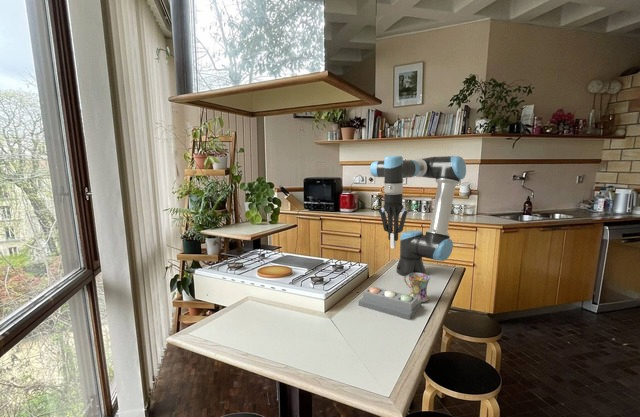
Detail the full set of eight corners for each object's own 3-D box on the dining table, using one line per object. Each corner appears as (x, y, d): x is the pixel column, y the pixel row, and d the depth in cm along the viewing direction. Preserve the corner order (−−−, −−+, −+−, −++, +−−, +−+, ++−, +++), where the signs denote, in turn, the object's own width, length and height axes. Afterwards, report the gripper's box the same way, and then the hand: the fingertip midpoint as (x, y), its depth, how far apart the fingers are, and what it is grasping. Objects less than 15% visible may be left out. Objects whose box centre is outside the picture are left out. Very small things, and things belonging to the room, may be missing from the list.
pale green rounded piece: (402, 301, 128) (402, 293, 127) (413, 304, 125) (413, 296, 125) (398, 305, 124) (398, 297, 124) (409, 308, 122) (409, 299, 121)
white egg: (387, 297, 132) (387, 289, 132) (396, 300, 129) (396, 292, 129) (382, 301, 128) (382, 293, 128) (392, 303, 126) (392, 295, 125)
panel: (373, 294, 141) (373, 283, 141) (421, 306, 129) (421, 294, 128) (358, 305, 130) (358, 294, 129) (409, 319, 117) (409, 307, 117)
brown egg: (372, 293, 136) (372, 286, 136) (381, 296, 134) (381, 288, 133) (367, 297, 133) (367, 289, 132) (377, 299, 130) (377, 291, 130)
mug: (433, 299, 135) (434, 276, 133) (421, 306, 129) (422, 281, 127) (409, 291, 144) (410, 269, 142) (397, 297, 138) (398, 274, 136)
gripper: (375, 193, 130) (375, 247, 133) (405, 194, 122) (404, 252, 126) (382, 191, 136) (382, 243, 139) (411, 192, 128) (411, 247, 132)
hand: (393, 247), depth 133 cm, fingers closed
